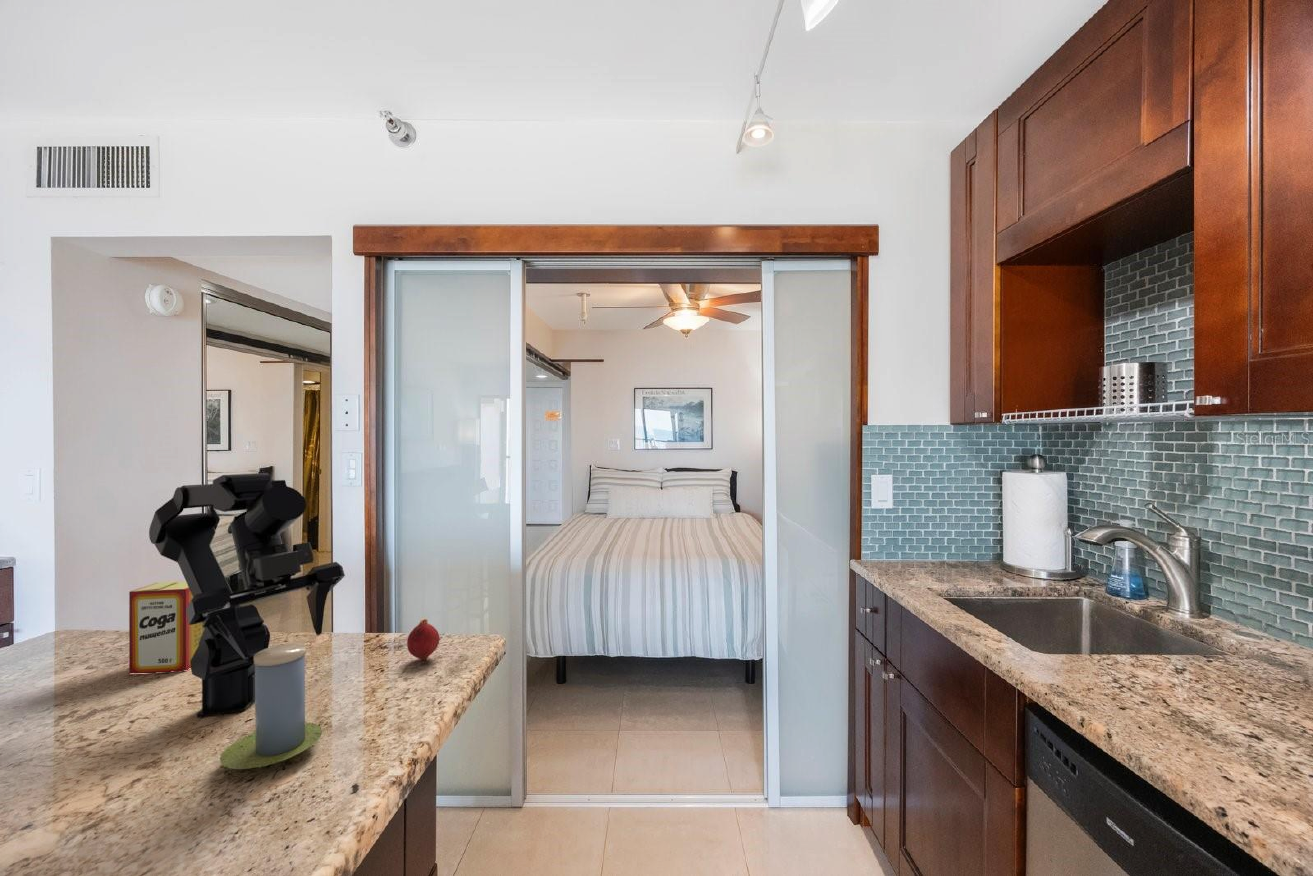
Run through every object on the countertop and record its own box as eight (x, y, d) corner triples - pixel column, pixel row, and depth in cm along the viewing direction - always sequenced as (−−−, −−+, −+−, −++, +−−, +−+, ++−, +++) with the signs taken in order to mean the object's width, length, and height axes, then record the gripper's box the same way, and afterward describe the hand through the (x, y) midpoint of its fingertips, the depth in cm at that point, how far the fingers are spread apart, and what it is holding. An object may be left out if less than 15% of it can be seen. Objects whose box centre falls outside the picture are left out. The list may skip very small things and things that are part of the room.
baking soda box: (209, 657, 107) (209, 578, 107) (186, 671, 101) (186, 587, 101) (156, 661, 106) (156, 581, 106) (129, 675, 99) (129, 589, 99)
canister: (244, 758, 68) (243, 661, 68) (269, 734, 74) (269, 644, 74) (293, 754, 69) (292, 658, 69) (314, 730, 75) (314, 641, 75)
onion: (427, 667, 101) (426, 625, 101) (400, 665, 102) (400, 623, 102) (445, 655, 106) (444, 615, 107) (419, 653, 108) (419, 613, 108)
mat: (244, 742, 76) (244, 728, 76) (333, 729, 79) (332, 716, 79) (200, 791, 65) (200, 775, 65) (305, 774, 68) (305, 759, 68)
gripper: (189, 542, 70) (214, 657, 66) (342, 515, 85) (370, 608, 81) (176, 570, 76) (198, 677, 72) (321, 541, 91) (345, 629, 87)
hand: (284, 645), depth 78 cm, fingers open, 9 cm apart
